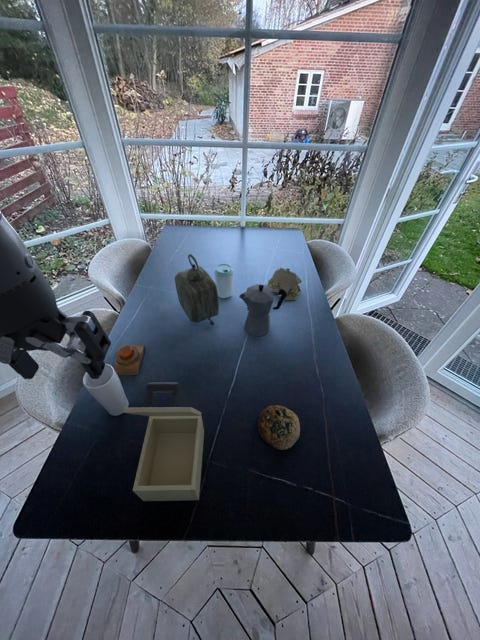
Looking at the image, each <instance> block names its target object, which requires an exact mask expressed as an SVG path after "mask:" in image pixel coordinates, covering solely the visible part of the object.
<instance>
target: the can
mask: <svg viewBox="0 0 480 640" xmlns="http://www.w3.org/2000/svg"><path fill="white" fill-rule="evenodd" d="M213 278H214V279H213V281H214V283H215V285H216V288H217V293H218V298H220V299H228V298H230V297H232V296H233V294H234V270H233V269H232V266H231V265H230V264H227V263H219V264H217V265H216V266H215V268H214V270H213Z"/></svg>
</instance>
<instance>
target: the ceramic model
mask: <svg viewBox="0 0 480 640" xmlns="http://www.w3.org/2000/svg"><path fill="white" fill-rule="evenodd" d="M302 282H303V281H302V279H301V277H299V276H298V275H297V273H296V272H294V271H291V269H290V268H288V267H286V268H284V267H279V268H277V269H276V270H275V271H274V273H273V274H272V277H271V278H269V279H268V281H267V286H269V287H270V288H271V289H272V290H273V289H284V290H285V291H286V292H287V296H286V298H285V300H284V301H296V300H298V296H299V295H300V294H301V292H302V289H301V285H300V284H301V283H302ZM277 296H278V297H279V298H280V297H281V295H277Z"/></svg>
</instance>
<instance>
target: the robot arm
mask: <svg viewBox="0 0 480 640" xmlns="http://www.w3.org/2000/svg"><path fill="white" fill-rule="evenodd" d="M56 298H57V297H56V294H55V291H54V290H53V288H52V286H51V285H50V283H49V281H48V280H47V278H46V277H45V275H44V273H43V272H42V270H41V268H40V267H39V265H38V263H37V262H36V261H35V259H34V257H33V256H32V253H31V252H30V250H29V248H27V246H26V244H25V243H24V241H23V239H22V238H21V236H20V235H19V233H18V232H17V231H16V229H15V228H14V227H13V226H12V225H11V223H10V222H9V221H8V220H7V218H6V217H5V216H4V214H3V212H2V211H1V210H0V363H1V364H4V365H8V366H9V367H10V368H12V370H13V371H14V372H15V373H16V374H18V375H19V376H20V377H22V378H23V379H24V380H32V379H33V378H34V377H35V375H36V374H37V372H38V371H39V369H40V365H39V364H38V362H37V361H36V360H35V359H34V358H33V356H32V355H31V354H30V353H29V352H33V351H44V352H51V353H53V354H55V355H57V356H60V357H61V358H63V359H66V358H68V357H71V358H72V359H74V360H76V361H78V362H80V363H81V367H83V369H84V370H85V372H87V373H88V374H89V376H90V377H91V379H98V378H99V377H100V375H102V372H103V370H104V367H105V364H106V363H105V361H104V360H105V359H106V357H107V356H106V355H107V354H108V351H109V349H110V348H111V347H110V346H111V345H112V341H111V340H110V339H109V336H108V335H107V333H106V332H105V330H104V328H103V327H102V325H101V323H100V322H99V320H98V318H97V316H96V315H95V313H94V312H92V311H90V310H84V311H83V312H82V313H81V315H79V316H78V315H77V316H68V315H67V314H66V313H64V312H63V311H62V310H61V309H60V308H59V307H58V304H57V300H56ZM66 335H67V336H68V337H69V340H68V342H67V343H66V345H65V346H64V345H62V344H61V343H62V342H63V340H64V338H65V336H66ZM78 346H81V347H82V348H84V350H83V351H82V350H79V349H78V348H77V347H78Z"/></svg>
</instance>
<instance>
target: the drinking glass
mask: <svg viewBox="0 0 480 640" xmlns="http://www.w3.org/2000/svg"><path fill="white" fill-rule="evenodd" d="M113 367H114V366H112V365H111V364H108V363H105V367H104V370H103V372H102V375H100V377H99V378H98V379H91V377H90V376H89V374H88V373H87V371H85V373H84V375H83V377H82V384H83V386H84V387H85V390H86V391H87V392H88V393H89V394H90V396H91V397H92V398H93V399H95V401H96V402H97V403H98V404H100V406H102V408H104V409H105V410H106V412H107V413H108V414H109V415H110V416H114V417H117V416H121V415H122V414H124V413H123V410H124V408H129V405H130V404H129V399H128V398H127V396H126V393H125V390H124V388H123V385H122V382H121V379H120V378H119V377H120V376H119V375H117V373H116V372H115V370H114V369H113Z"/></svg>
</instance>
